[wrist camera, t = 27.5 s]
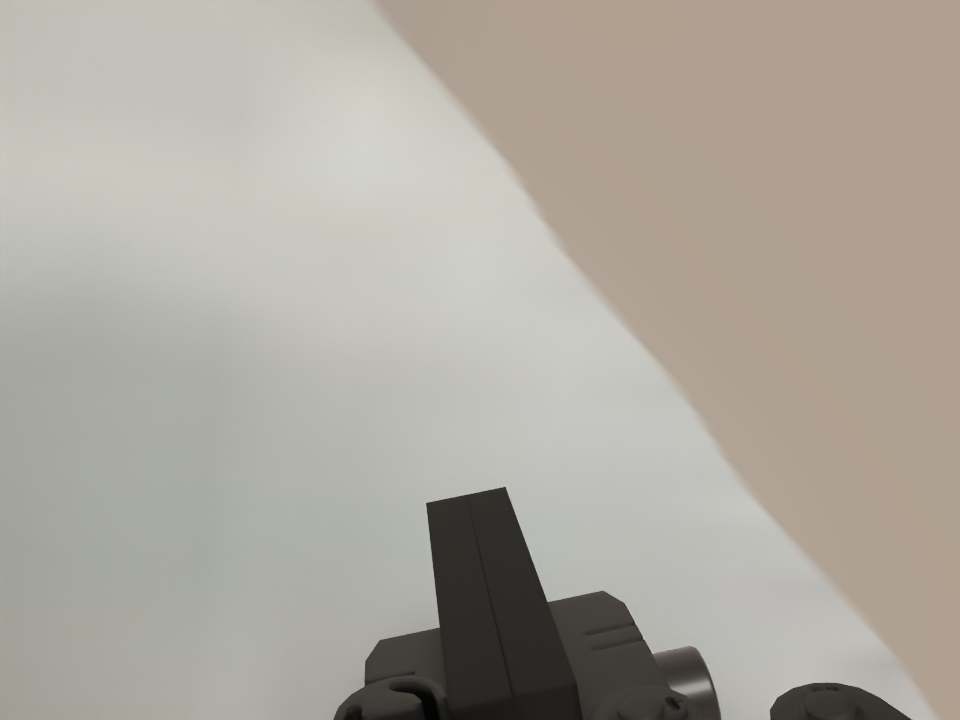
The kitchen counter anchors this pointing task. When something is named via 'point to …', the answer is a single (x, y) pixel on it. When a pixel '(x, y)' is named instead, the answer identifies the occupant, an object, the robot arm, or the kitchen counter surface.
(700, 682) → the drawer
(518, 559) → the robot arm
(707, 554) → the kitchen counter surface
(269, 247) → the kitchen counter surface
